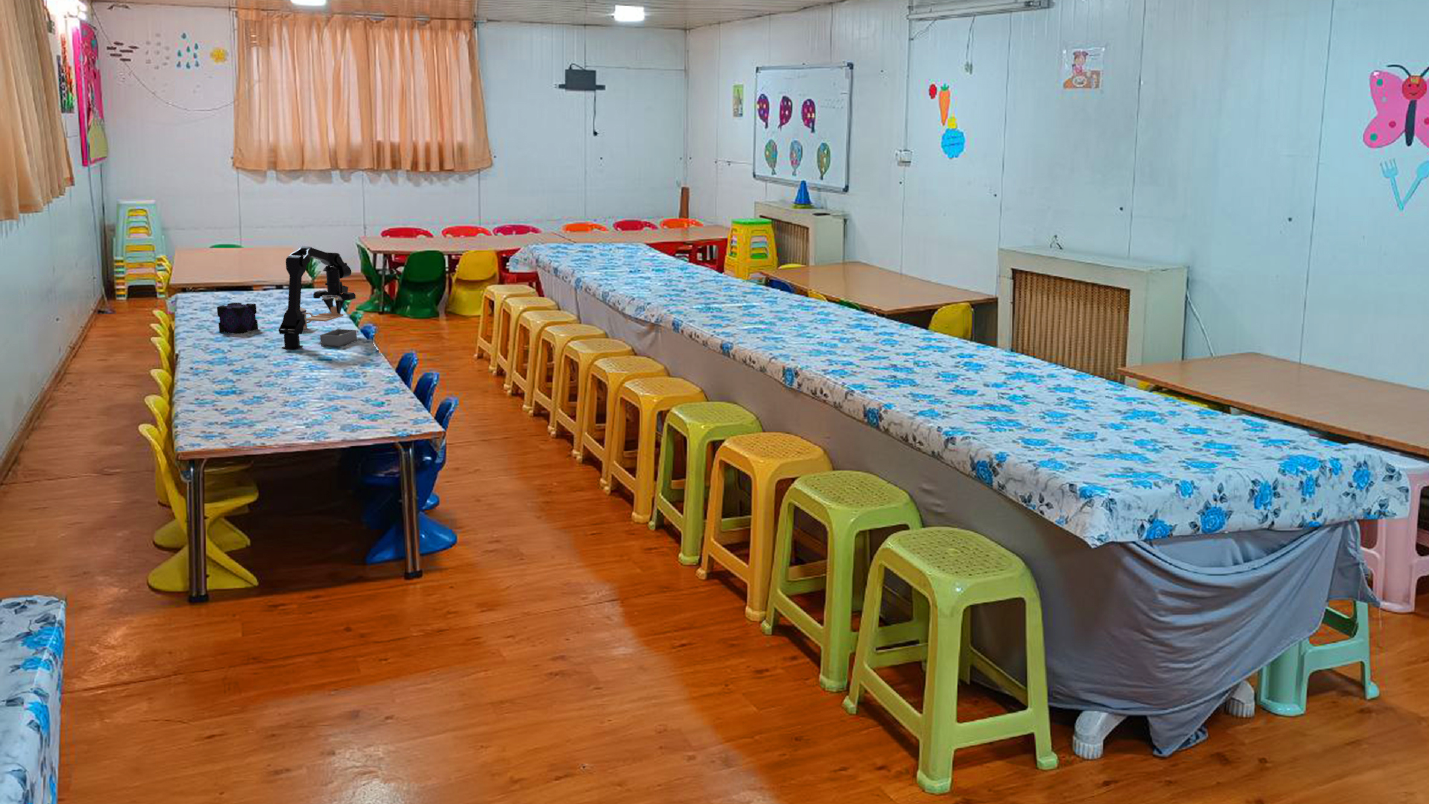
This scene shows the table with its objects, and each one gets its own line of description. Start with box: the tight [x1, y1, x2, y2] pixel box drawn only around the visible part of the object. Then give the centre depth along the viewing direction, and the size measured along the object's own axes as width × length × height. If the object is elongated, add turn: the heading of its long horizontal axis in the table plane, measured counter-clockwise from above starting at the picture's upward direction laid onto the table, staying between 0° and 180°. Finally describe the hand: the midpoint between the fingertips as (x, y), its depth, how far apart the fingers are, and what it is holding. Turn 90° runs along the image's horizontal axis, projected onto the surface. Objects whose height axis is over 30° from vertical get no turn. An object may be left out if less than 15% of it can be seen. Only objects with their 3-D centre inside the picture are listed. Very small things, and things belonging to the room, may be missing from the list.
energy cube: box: [216, 302, 259, 335], centre depth 532 cm, size 12×12×12 cm
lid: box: [306, 305, 344, 322], centre depth 519 cm, size 17×10×4 cm, turn 165°
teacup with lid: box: [285, 306, 313, 331], centre depth 538 cm, size 12×9×12 cm
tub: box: [319, 328, 358, 348], centre depth 508 cm, size 14×9×5 cm, turn 165°
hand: (335, 314), depth 526 cm, fingers closed on lid, 3 cm apart
